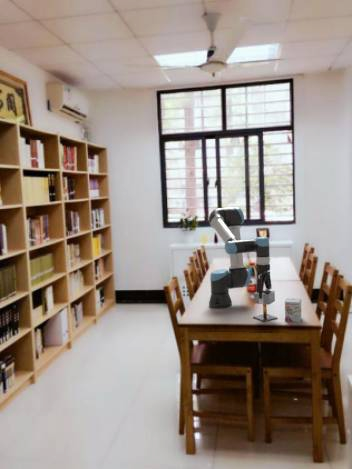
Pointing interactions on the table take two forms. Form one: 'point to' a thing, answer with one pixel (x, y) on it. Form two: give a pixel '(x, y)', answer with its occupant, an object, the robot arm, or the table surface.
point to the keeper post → (265, 315)
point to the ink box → (293, 310)
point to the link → (265, 297)
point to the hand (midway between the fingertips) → (264, 301)
